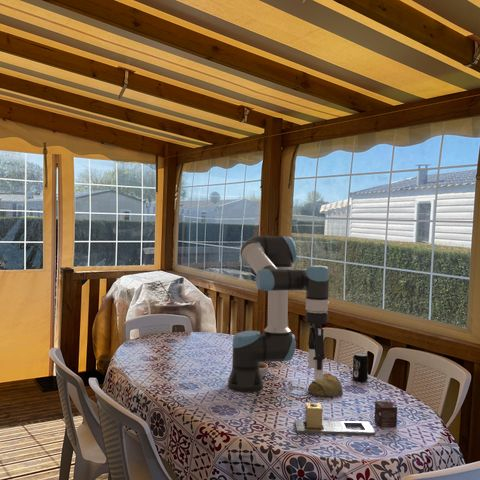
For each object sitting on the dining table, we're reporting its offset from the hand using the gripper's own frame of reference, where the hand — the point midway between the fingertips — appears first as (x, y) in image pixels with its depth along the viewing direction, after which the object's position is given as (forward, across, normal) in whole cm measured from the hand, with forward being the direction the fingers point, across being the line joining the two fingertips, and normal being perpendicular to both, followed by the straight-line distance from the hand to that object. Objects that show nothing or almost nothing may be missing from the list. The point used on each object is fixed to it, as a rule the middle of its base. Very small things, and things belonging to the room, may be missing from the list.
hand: (315, 373), depth 171 cm
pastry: (+19, +37, -10) cm, 43 cm away
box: (+19, +5, -26) cm, 32 cm away
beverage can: (+19, +56, -29) cm, 65 cm away
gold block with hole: (+19, 0, 0) cm, 19 cm away
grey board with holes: (+19, 0, -7) cm, 20 cm away
